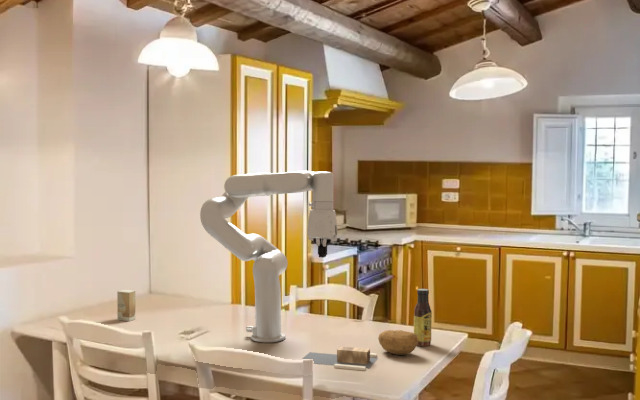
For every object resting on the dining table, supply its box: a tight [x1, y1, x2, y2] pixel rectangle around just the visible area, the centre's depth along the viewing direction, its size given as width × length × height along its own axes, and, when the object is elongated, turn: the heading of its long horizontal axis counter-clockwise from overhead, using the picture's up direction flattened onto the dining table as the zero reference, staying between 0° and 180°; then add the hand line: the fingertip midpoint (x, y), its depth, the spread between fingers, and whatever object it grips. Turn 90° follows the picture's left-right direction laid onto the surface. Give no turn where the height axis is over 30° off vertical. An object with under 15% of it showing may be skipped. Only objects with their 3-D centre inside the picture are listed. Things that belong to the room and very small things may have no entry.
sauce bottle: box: [413, 288, 433, 347], centre depth 250 cm, size 7×6×20 cm
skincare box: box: [116, 289, 136, 322], centre depth 292 cm, size 6×4×12 cm
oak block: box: [336, 345, 371, 364], centre depth 230 cm, size 4×4×10 cm
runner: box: [301, 351, 379, 371], centre depth 232 cm, size 24×16×1 cm
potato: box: [377, 329, 418, 356], centre depth 239 cm, size 10×14×8 cm
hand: (322, 256), depth 253 cm, fingers closed
